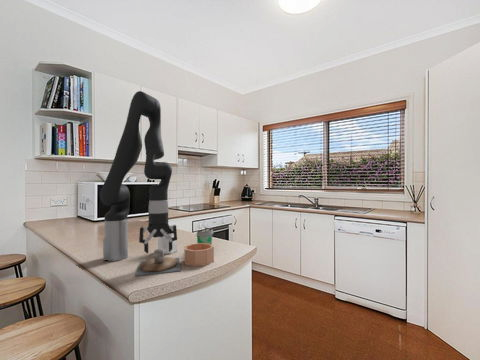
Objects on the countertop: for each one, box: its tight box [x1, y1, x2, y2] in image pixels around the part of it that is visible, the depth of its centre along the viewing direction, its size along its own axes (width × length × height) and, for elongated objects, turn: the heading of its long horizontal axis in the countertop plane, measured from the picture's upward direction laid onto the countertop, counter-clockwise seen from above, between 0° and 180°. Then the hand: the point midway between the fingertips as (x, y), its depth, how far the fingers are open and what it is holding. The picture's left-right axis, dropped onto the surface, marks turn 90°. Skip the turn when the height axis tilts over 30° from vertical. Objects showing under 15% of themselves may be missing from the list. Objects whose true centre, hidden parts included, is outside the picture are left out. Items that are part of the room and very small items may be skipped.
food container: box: [196, 227, 214, 245], centre depth 120 cm, size 12×6×10 cm, turn 168°
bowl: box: [183, 243, 215, 267], centre depth 103 cm, size 12×12×6 cm
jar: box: [157, 228, 178, 255], centre depth 117 cm, size 9×8×12 cm
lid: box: [140, 248, 177, 272], centre depth 96 cm, size 14×14×6 cm
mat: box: [134, 257, 182, 277], centre depth 96 cm, size 16×16×1 cm
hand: (158, 252), depth 96 cm, fingers open, 8 cm apart
